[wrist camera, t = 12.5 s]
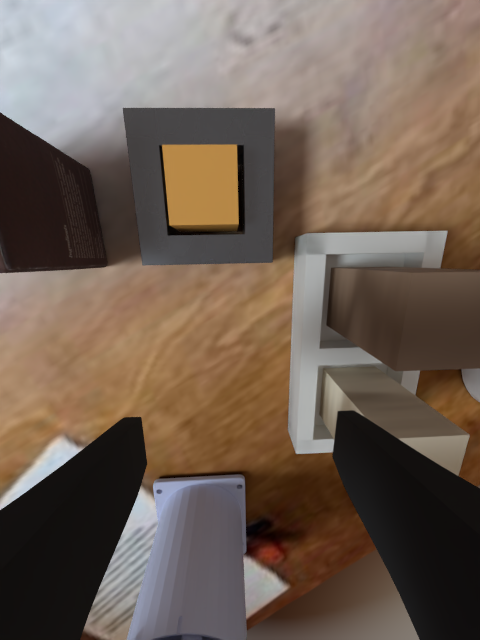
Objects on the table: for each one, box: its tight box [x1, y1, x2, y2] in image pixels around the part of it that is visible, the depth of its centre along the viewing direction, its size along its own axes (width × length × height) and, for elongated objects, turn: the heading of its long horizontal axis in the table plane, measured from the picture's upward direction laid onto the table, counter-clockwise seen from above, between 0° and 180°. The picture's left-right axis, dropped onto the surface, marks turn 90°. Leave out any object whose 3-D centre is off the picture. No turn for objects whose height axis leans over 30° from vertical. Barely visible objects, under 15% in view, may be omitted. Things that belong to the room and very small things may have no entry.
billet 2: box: [319, 366, 470, 476], centre depth 14 cm, size 4×4×7 cm
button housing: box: [123, 108, 275, 265], centre depth 14 cm, size 8×8×2 cm
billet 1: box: [326, 267, 480, 371], centre depth 12 cm, size 4×4×7 cm
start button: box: [162, 145, 239, 232], centre depth 13 cm, size 4×4×3 cm
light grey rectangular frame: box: [288, 231, 448, 454], centre depth 16 cm, size 16×8×2 cm, turn 1°
